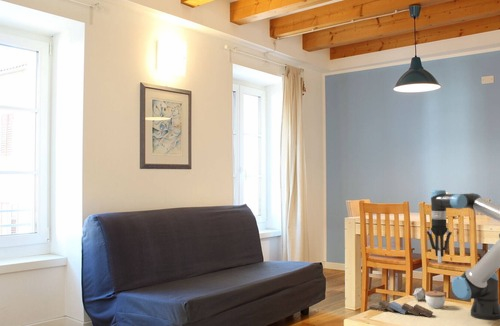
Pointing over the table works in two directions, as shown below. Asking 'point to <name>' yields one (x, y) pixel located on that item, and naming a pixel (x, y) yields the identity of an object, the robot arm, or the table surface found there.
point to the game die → (419, 294)
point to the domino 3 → (397, 307)
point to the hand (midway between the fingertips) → (439, 262)
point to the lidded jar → (435, 299)
